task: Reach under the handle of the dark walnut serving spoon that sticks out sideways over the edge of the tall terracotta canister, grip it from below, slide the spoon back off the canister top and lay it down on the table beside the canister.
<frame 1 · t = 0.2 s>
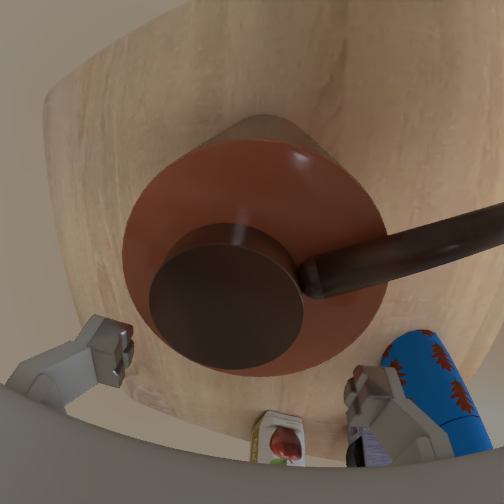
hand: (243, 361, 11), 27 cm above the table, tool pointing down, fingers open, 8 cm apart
spoon: (229, 288, 13), point 24 cm above the table, touching canister
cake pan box: (385, 424, 54), on the table
juice carton: (277, 421, 54), on the table
canister: (265, 164, 34), on the table
thermos: (410, 353, 45), on the table
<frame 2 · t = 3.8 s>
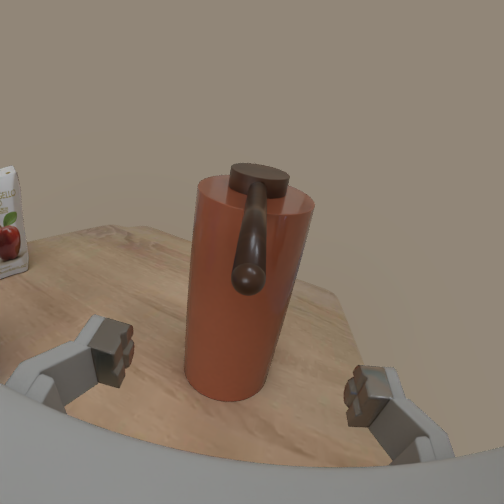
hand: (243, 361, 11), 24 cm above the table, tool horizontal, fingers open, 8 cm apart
spoon: (257, 188, 31), point 24 cm above the table, touching canister
juice carton: (10, 268, 49), on the table
canister: (225, 368, 41), on the table
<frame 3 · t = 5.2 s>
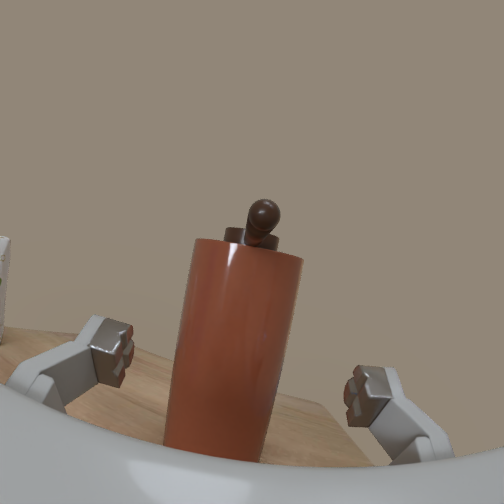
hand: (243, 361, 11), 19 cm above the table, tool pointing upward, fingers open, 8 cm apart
spoon: (249, 250, 34), point 24 cm above the table, touching canister
canister: (210, 457, 31), on the table
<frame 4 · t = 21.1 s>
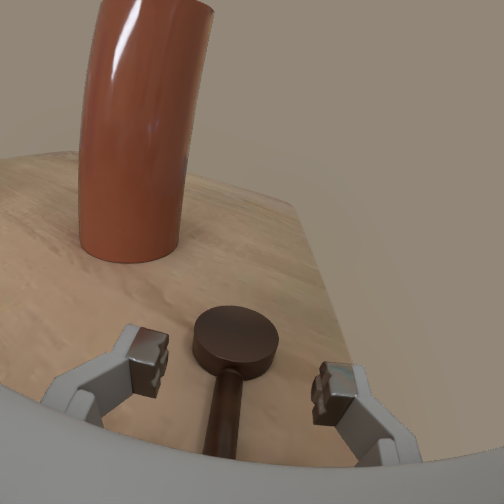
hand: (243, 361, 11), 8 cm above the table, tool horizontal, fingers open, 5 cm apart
spoon: (233, 350, 22), on the table
canister: (128, 237, 33), on the table
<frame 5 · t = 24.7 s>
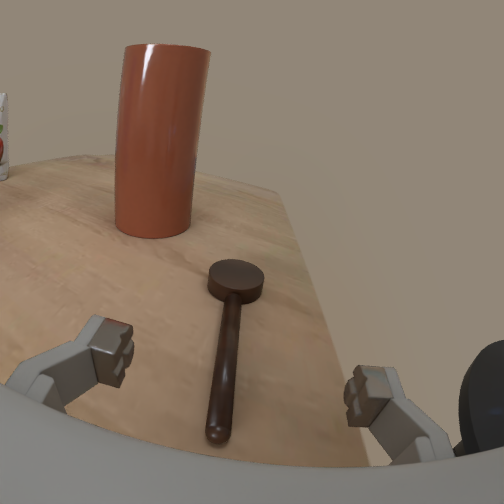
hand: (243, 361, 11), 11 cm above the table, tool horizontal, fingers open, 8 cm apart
spoon: (234, 287, 34), on the table
canister: (152, 221, 45), on the table
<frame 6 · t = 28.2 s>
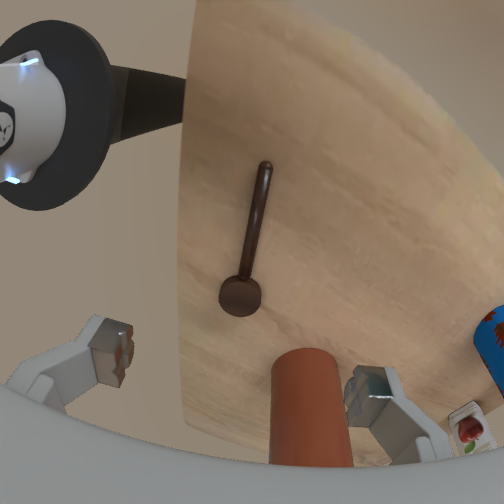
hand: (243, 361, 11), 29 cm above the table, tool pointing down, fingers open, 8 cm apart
spoon: (240, 292, 44), on the table
juice carton: (462, 411, 57), on the table
canister: (304, 371, 51), on the table
thermos: (495, 327, 46), on the table
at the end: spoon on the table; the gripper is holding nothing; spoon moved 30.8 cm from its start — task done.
